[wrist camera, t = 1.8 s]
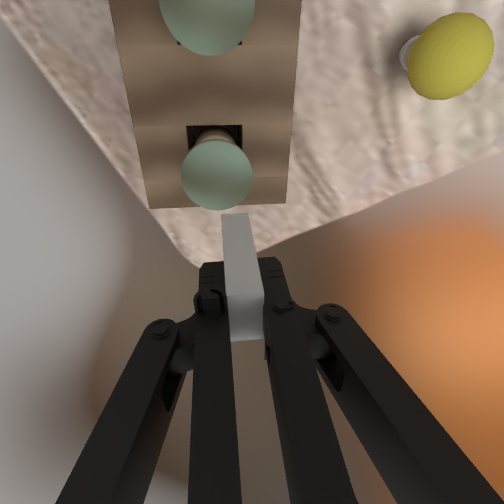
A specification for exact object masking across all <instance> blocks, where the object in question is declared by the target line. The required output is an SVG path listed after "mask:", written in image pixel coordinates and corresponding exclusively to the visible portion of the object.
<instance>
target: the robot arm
mask: <svg viewBox="0 0 504 504" xmlns="http://www.w3.org/2000/svg"><path fill="white" fill-rule="evenodd" d="M221 221H222V237H223V254H224V261H219V262H206V263H203V265H202V266H201V268H200V270H199V291H198V292H197V293H196V295H195V297H194V300H193V301H194V306H195V313H194V314H193V315H192V316H191V317H190V318H188V319H186V320H184V321H181V322H178V323H175V322H174V321H173V320H170V319H159V320H156V321H153V322H152V323H150V324H149V325H148V326H147V327H146V329H145V330H144V332H143V334H142V336H141V338H140V340H139V342H138V343H137V345H136V347H135V349H134V351H133V353H132V355H131V357H130V359H129V361H128V363H127V365H126V367H125V369H124V371H123V373H122V375H121V377H120V378H119V381H118V382H117V384H116V386H115V388H114V390H113V392H112V394H111V396H110V398H109V400H108V402H107V404H106V406H105V408H104V410H103V412H102V414H101V416H100V418H99V419H98V421H97V423H96V425H95V427H94V429H93V431H92V433H91V435H90V437H89V439H88V441H87V443H86V445H85V447H84V449H83V450H82V452H81V455H80V456H79V458H78V460H77V462H76V464H75V466H74V468H73V470H72V472H71V474H70V476H69V478H68V480H67V482H66V484H65V486H64V488H63V489H62V491H61V493H60V495H59V497H58V499H57V501H56V503H55V504H143V503H144V500H145V497H146V494H147V491H148V488H149V485H150V482H151V479H152V476H153V473H154V470H155V467H156V464H157V461H158V458H159V455H160V452H161V449H162V446H163V443H164V440H165V437H166V434H167V431H168V428H169V425H170V422H171V419H172V416H173V413H174V410H175V407H176V404H177V401H178V398H179V395H180V391H181V389H182V386H183V383H184V379H185V377H186V373H187V371H189V370H192V369H193V392H192V414H191V438H190V462H189V463H190V464H189V485H188V504H242V496H241V481H240V467H239V453H238V438H237V425H236V410H235V397H234V382H233V368H232V354H231V341H240V340H251V339H262V338H264V339H265V360H267V365H268V371H269V377H270V383H271V390H272V396H273V402H274V408H275V414H276V420H277V425H278V431H279V438H280V443H281V449H282V456H283V462H284V468H285V473H286V480H287V486H288V492H289V498H290V504H359V503H358V502H357V500H356V497H355V495H354V491H353V488H352V485H351V482H350V478H349V475H348V472H347V468H346V465H345V462H344V459H343V455H342V452H341V449H340V446H339V442H338V439H337V436H336V432H335V429H334V426H333V423H332V419H331V416H330V413H329V409H328V406H327V403H326V399H325V396H324V393H323V390H322V386H321V383H320V380H319V376H318V373H317V370H318V371H319V373H320V375H321V376H322V378H323V380H324V382H325V383H326V385H327V387H328V388H329V390H330V391H331V393H332V395H333V396H334V398H335V400H336V402H337V403H338V405H339V407H340V408H341V410H342V412H343V413H344V415H345V417H346V418H347V420H348V422H349V423H350V425H351V426H352V428H353V430H354V432H355V433H356V435H357V437H358V438H359V440H360V442H361V443H362V445H363V447H364V448H365V450H366V452H367V454H368V455H369V457H370V458H371V460H372V462H373V463H374V465H375V467H376V469H377V470H378V472H379V473H380V475H381V477H382V478H383V480H384V482H385V484H386V485H387V487H388V489H389V490H390V492H391V494H392V495H393V497H394V499H395V500H396V502H397V504H504V501H503V500H502V499H501V497H500V496H499V495H498V494H497V493H496V491H495V490H494V489H493V488H492V487H491V486H490V484H489V483H488V482H487V481H486V479H485V478H484V477H483V476H482V474H481V473H480V472H479V471H478V469H477V468H476V467H475V466H474V465H473V463H472V462H471V461H470V460H469V459H468V457H467V456H466V455H465V454H464V452H463V451H462V450H461V449H460V448H459V446H458V445H457V444H456V443H455V442H454V440H453V439H452V438H451V437H450V435H449V434H448V433H447V432H446V431H445V429H444V428H443V427H442V426H441V424H440V423H439V422H438V421H437V420H436V418H435V417H434V416H433V415H432V414H431V412H430V411H429V410H428V409H427V407H426V406H425V405H424V404H423V403H422V401H421V400H420V399H419V398H418V397H417V395H416V394H415V393H414V392H413V390H412V389H411V388H410V387H409V386H408V384H407V383H406V382H405V381H404V379H403V378H402V377H401V376H400V375H399V373H398V372H397V371H396V370H395V369H394V367H393V366H392V365H391V364H390V363H389V361H388V360H387V359H386V358H385V356H384V355H383V354H382V353H381V352H380V350H379V349H378V348H377V347H376V345H375V344H374V343H373V342H372V341H371V339H370V338H369V337H368V336H367V334H366V333H365V332H364V331H363V330H362V328H361V327H360V326H359V325H358V324H357V322H356V321H355V320H354V319H353V318H352V316H351V315H350V314H349V313H348V311H347V310H346V309H344V308H343V307H342V306H339V305H337V304H332V303H329V304H324V305H322V306H320V307H319V308H318V309H317V310H311V309H306V308H303V307H300V306H298V305H297V304H296V303H295V302H294V301H293V300H292V298H291V296H290V292H289V289H288V286H287V282H286V279H285V276H284V272H283V269H282V265H281V263H280V262H279V261H278V259H276V257H264V258H257V255H256V250H255V245H254V240H253V235H252V230H251V225H250V220H249V215H248V213H236V214H221ZM315 366H316V367H315ZM316 368H317V370H316Z"/></svg>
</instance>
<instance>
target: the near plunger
mask: <svg viewBox="0 0 504 504" xmlns="http://www.w3.org/2000/svg"><path fill="white" fill-rule="evenodd" d="M159 5H160V9H161V13H162V16H163V18H164V21H165V23H166V25H167V27H168V29H169V30H170V32H171V33H172V35H173V36H174V37H175V38H176V39H177V41H179V42H180V43H181V44H182V45H183V46H184V47H186V48H187V49H189V50H191V51H192V52H195V53H197V54H201V55H206V56H216V55H220V54H223V53H226V52H228V51H230V50H232V49H233V48H234V47H236V46H237V45H238V44H239V43H240V42H241V41H242V39H243V38H244V36H245V35H246V33H247V31H248V30H249V27H250V25H251V22H252V19H253V14H254V8H255V0H159Z"/></svg>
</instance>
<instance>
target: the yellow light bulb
mask: <svg viewBox="0 0 504 504" xmlns="http://www.w3.org/2000/svg"><path fill="white" fill-rule="evenodd" d="M493 50H494V40H493V34H492V31H491V29H490V27H489V26H488V24H487V23H486V22H485V20H483V19H481V18H480V17H478V16H476V15H474V14H472V13H458V12H456V13H452V14H449V15H446V16H443V17H440V18H439V19H437V20H436V21H435V22H433V23H432V24H431V25H429V26H428V27H427V28H426V29H425V31H424V32H423V33H422V34H421V35H417V36H415V37H412V38H411V39H410V40H408V41H407V42H406V43H405V44H404V45H403V46H402V48H401V50H400V52H399V60H400V63H401V66H402V67H403V68H404V70H406V71H408V78H409V81H410V84H411V87H412V88H413V89H414V90H415V91H416V93H417V94H419V95H421V96H423V97H425V98H428V99H431V100H446V99H449V98H452V97H455V96H458V95H461V94H462V93H464V92H465V91H467V90H468V89H470V88H471V87H473V86H474V85H475V84H476V83H477V82H478V81H479V80H480V79H481V78H482V76H483V74H484V73H485V71H486V70H487V68H488V67H489V64H490V61H491V59H492V56H493Z"/></svg>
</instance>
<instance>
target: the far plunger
mask: <svg viewBox="0 0 504 504" xmlns="http://www.w3.org/2000/svg"><path fill="white" fill-rule="evenodd" d="M252 181H253V173H252V168H251V164H250V161H249V159H248V157H247V156H246V154H245V153H244V152H243V150H242V149H241V148H239V147H238V146H237V145H236V142H235V139H234V137H233V135H232V134H231V132H230V131H229V130H227V129H226V128H224V127H222V126H218V125H211V126H208V127H205V128H204V129H202V130H201V131H200V132H199V134H198V135H197V137H196V140H195V146H194V147H192V148H191V149H190V150H189V152H188V153H187V154H186V156H185V158H184V160H183V163H182V168H181V183H182V186H183V189H184V191H185V193H186V194H187V196H188V197H189V198H190V199H191V200H192V201H193V202H194V203H196V204H197V205H199V206H201V207H203V208H206V209H210V210H225V209H229V208H231V207H234V206H236V205H237V204H239V203H240V202H241V201H242V200H243V199H244V198H245V197H246V196H247V194H248V193H249V191H250V188H251V186H252Z"/></svg>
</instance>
